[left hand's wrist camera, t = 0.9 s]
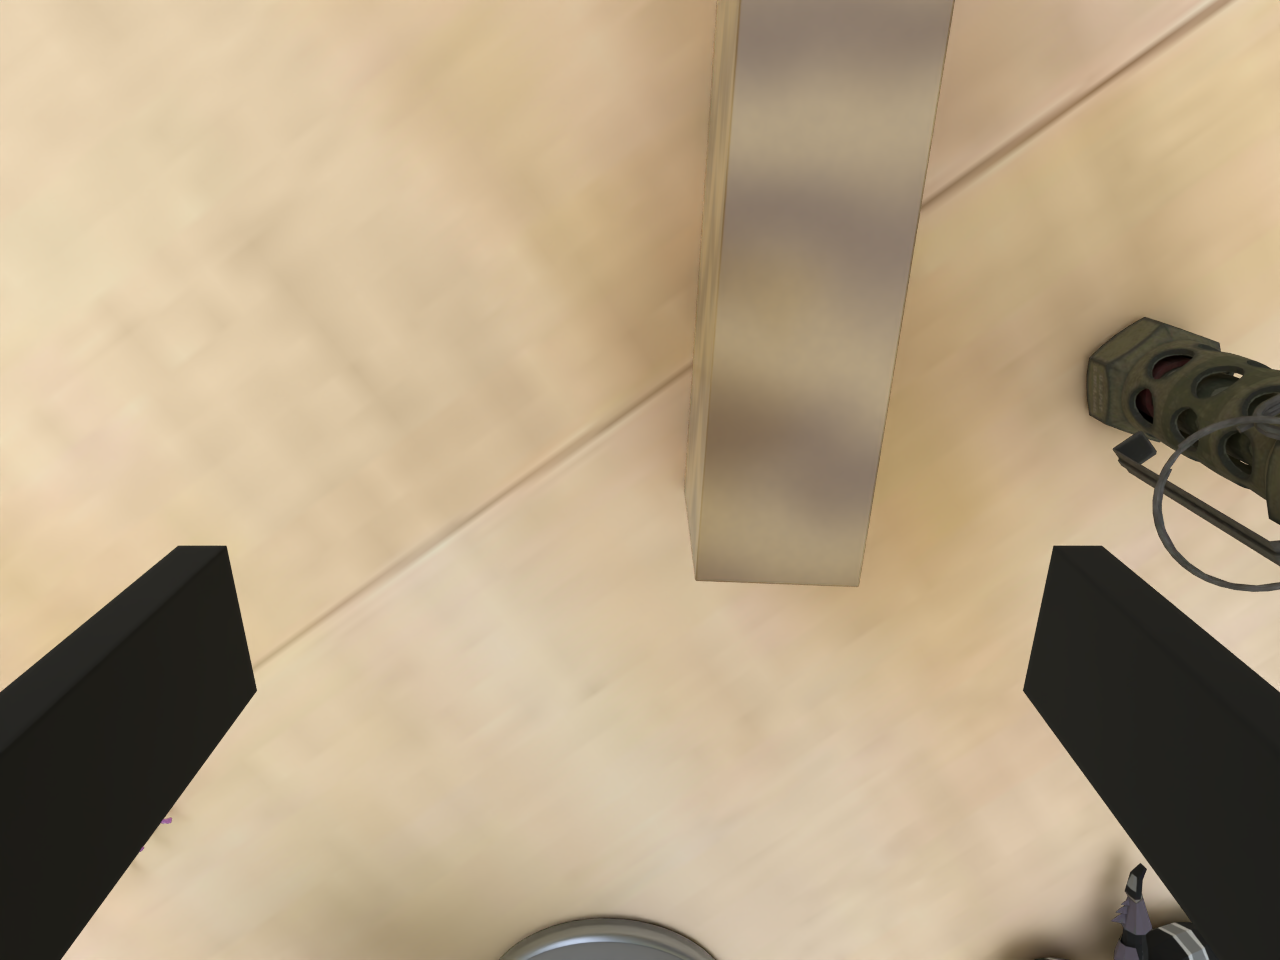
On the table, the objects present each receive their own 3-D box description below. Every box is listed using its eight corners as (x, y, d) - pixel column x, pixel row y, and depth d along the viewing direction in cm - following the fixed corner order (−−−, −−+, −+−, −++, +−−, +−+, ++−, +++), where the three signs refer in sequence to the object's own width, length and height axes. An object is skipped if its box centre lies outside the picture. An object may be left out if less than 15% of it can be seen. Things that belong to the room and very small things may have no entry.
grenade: (1170, 252, 32) (1582, 326, 18) (1238, 360, 33) (1665, 505, 19) (981, 395, 34) (1215, 561, 20) (1053, 490, 36) (1316, 704, 22)
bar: (813, 496, 36) (859, 587, 28) (683, 491, 36) (694, 581, 28) (944, -486, 24) (1084, -786, 16) (750, -496, 24) (800, -803, 16)
